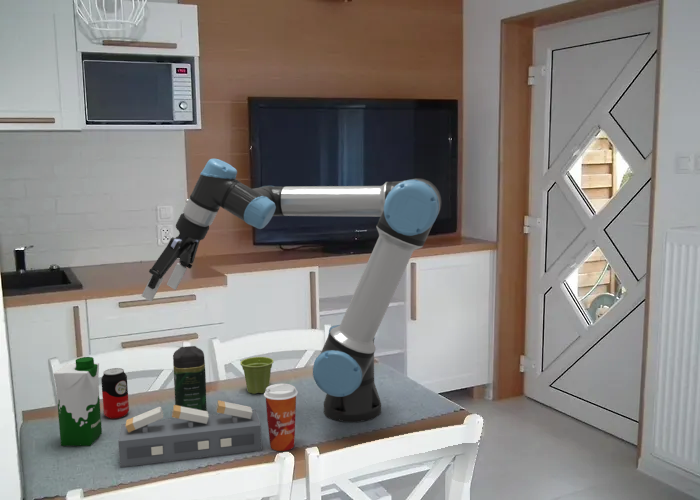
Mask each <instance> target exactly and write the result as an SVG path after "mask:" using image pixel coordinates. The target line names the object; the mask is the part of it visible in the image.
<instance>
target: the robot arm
mask: <svg viewBox="0 0 700 500" xmlns="http://www.w3.org/2000/svg"><path fill="white" fill-rule="evenodd" d="M199 174H200V175H199V177H198V178H197V179H198V180H197V181H196V183H195V185H194V186H193V187H194V188H193V190H192V192H191V194H190V195H189V198H187V199H186V200H185V203H186V204H185V206H184V208H183V209H182V213H181V214H180V215H179V217H178V219H177V222H176V224H175V228H176V230H177V231H178V233H179V234H178V235H177V236H176V237H173V236H172V237H171V238H170V240H169V242H168V243H167V245H166V247H165V248H164V250H163V251H162V252H161V254H160V255H159V256H158V258H157V260H156V261H155V262H154V264H153V265H152V267H151V268H150V269H149V270H148V272H149V274H151V276H150V277H149V280H148V282H147V283H146V285H145V288H144V289H143V292H142V294H141V297H142V298H144V299H145V300H147V301H149V302H151V303H152V302H153V300H154V299H155V296H156V294H157V292H158V290H159V288H160V287H161V284H162V283H163V280H164V275H166V273H167V272H168V271H169V269H171V267H172V266H173V265H174V264H175V262H176V261H177V260H178V259H179V262H177V263H176V265H175V266H174V269H173V271H172V272H171V275H170V277H169V278H168V281H167V283H166V286H168V287H170V288H171V289H173V290H175V291H177V289H178V287H179V286H180V283H181V281H182V279H183V277H184V276H185V273H186V271H187V269H189V270H190V269H191V268H192V267H193V264H194V261H195V258H196V254H197V251H198V248H199V244H200V241H203V240H204V239H205V238H206V236H207V233H208V231H209V230H210V226H211V225H212V224H213V222H214V220H215V218H216V216H217V214H218V212H219V210H220V208H222V209H224V210H225V211H227V212H229V213H231V214H232V215H234V216H235V217H236V218H238V219H240V220H241V221H243V222H244V223H246V224H247V225H249V226H252V227H254V228H256V229H258V230H261V229H264V228H265V227H266V226H267V225H268V224H269V223H270V221H271V220H272V218H273V217H288V216H289V217H369V218H370V217H371V218H372V217H374V218H375V217H377V218H378V217H379V218H378V222H377V223H376V230H377V233H378V238H377V240H376V243H375V244H374V247H373V250H372V251H371V254H370V256H369V259H368V261H367V263H366V265H365V268H364V270H363V272H362V275H361V276H360V279H359V282H358V284H357V286H356V288H355V290H354V293H353V295H352V297H351V300H350V301H349V304H348V306H347V309H346V310H345V313H344V315H343V317H342V320H341V322H340V324H336V325H332V326H331V327H329V330H328V334H327V335H328V336H327V338H326V340H325V343H324V345H323V347H322V349H321V351H320V354H318V356H317V357H316V358H315V360H314V363H313V366H312V377H313V380H314V382H315V384H316V386H317V387H318V388H319V389H320V390H321V391H322V392H323V393H325V394H326V395H325V398H324V401H323V413H324V415H325V416H326V417H327V418H329V419H332V420H335V421H337V422H344V423H345V422H347V423H357V422H366V421H370V420H373V419H374V418H377V417H379V416H380V415H381V413H382V401H381V399H380V395H379V393H378V390H377V387H376V384H375V352H376V350H377V349H376V345H375V337H376V335H377V333H378V330H379V328H380V326H381V323H382V321H383V318H384V317H385V315H386V312H387V310H388V309H389V305H390V304H391V302H392V299H393V297H394V295H395V294H396V293H395V292H396V290H397V288H398V287H399V284H400V281H401V279H402V278H403V275H404V273H405V270H406V269H407V266H408V264H409V262H410V259H411V258H412V255H413V253H414V251H416V250H419V249H422V248H423V247H424V245H425V243H426V241H427V238H428V237H429V234H430V231H431V229H432V227H433V225H434V223H435V222H436V219H437V218H438V215H439V214H440V211H441V208H442V197H441V193H440V191H439V190H438V188H437V186H436V185H434V184H433V183H432V182H431V181H429V180H426V179H424V178H416V177H415V178H411V179H407V180H400V181H385V183H384V184H382V185H348V186H347V185H345V186H344V185H339V186H337V185H334V186H333V185H329V186H327V185H317V186H315V185H313V186H307V185H305V186H303V185H302V186H296V185H295V186H292V185H291V186H274V185H263V186H260V187H256V188H252V187H249V186H248V185H245V184H244V183H242V182H241V181H240V180H238V179H236V178H237V175H238V170H237V169H236V168H235V167H233V165H231V164H229V163H228V162H226V161H225V160H221V159H218V158H210V159H208V161H207V162H206V164H205V166H204V168H203V169H202V171H201V172H200V173H199Z"/></svg>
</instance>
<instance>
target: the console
mask: <svg viewBox="0 0 700 500" xmlns="http://www.w3.org/2000/svg"><path fill="white" fill-rule="evenodd" d="M252 412H253V413H252V416H251V419H248V418H243V417H238V416H233V415H228V414H222V413H213V414H208V416H209V418H208V421H207V424H205V423H200V422H195V421H189V420H184V419H178V418H173V417H172V418H165V419H164V418H162V419H160V420H157V421H155V422H152V423H150V424H148V425H145V426H143V427H140V428H138V429H135V430H133V431H131V432H128V430H127V428H126V423H121V425H120V429H119V430H120V431H119V436H118V443H117V446H118V456H119V457H118V458H119V468H126V467H135V466H142V465H151V464H159V463H161V464H162V463H167V462H175V461H176V462H177V461H184V460H185V461H186V460H193V459H200V458H210V457H217V456H227V455H234V454H241V453H250V452H251V453H252V452H258V451H259V452H260V451H263V450H262V424H261V422H260V419H259V416H258V413H257V409H252Z"/></svg>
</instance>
